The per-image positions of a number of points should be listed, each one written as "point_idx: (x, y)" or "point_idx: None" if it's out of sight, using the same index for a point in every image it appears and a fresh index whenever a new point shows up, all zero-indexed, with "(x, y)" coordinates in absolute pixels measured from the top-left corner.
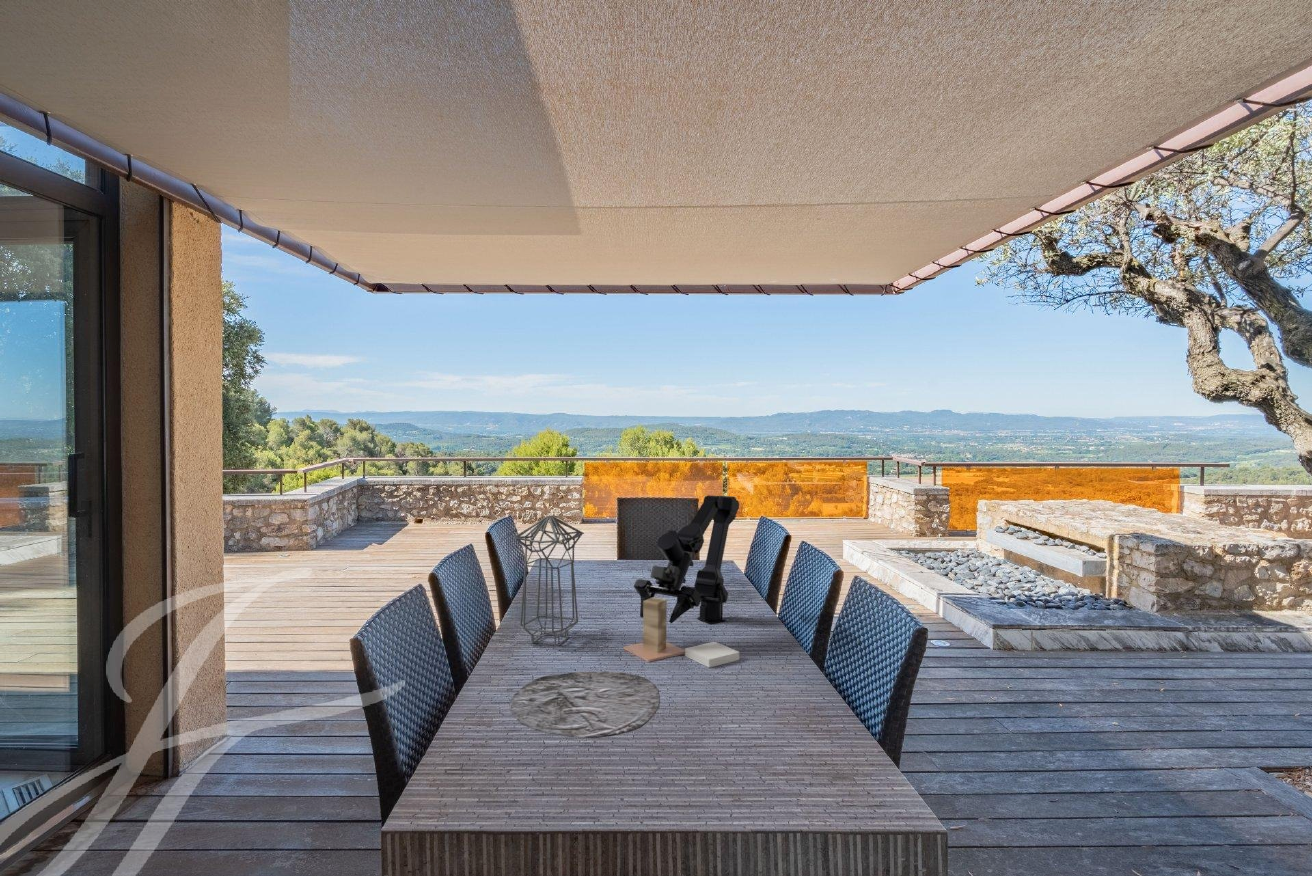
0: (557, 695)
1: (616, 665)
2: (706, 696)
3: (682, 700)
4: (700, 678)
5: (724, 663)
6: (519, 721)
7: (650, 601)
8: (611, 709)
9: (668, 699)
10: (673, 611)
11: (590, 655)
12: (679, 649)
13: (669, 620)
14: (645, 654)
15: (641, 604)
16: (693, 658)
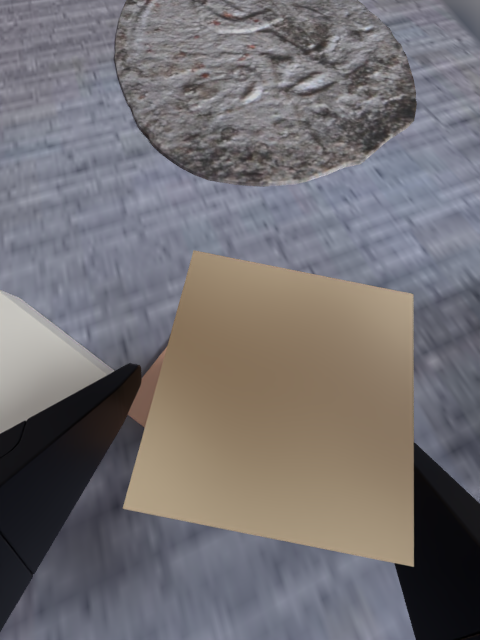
0: (326, 56)
1: (299, 226)
2: (14, 124)
3: (69, 96)
4: (40, 214)
5: None
6: None
7: (321, 309)
8: (199, 33)
9: (102, 93)
10: (78, 410)
11: (408, 271)
12: (148, 414)
13: (138, 367)
14: None
15: (467, 499)
16: (79, 345)
